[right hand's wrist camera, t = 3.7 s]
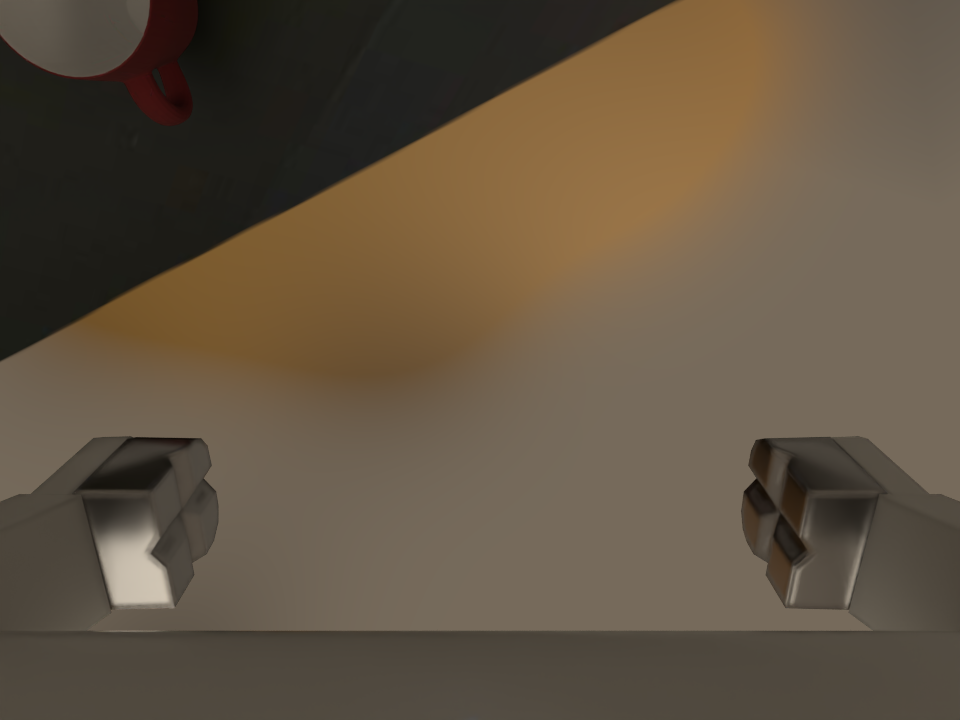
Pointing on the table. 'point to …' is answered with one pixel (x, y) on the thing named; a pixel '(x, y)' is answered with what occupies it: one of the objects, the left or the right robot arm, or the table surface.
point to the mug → (109, 45)
